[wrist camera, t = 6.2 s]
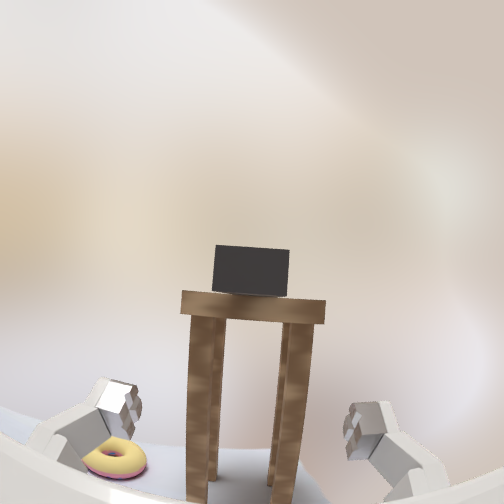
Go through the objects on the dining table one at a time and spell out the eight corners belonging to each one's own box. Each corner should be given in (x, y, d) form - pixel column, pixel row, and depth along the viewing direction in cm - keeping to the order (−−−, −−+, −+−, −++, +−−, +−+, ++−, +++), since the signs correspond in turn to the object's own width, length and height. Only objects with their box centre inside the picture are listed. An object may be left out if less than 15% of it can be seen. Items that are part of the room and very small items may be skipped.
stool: (178, 525, 22) (182, 290, 26) (200, 468, 36) (209, 293, 39) (292, 536, 21) (325, 300, 25) (284, 475, 35) (303, 300, 39)
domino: (210, 291, 17) (215, 242, 17) (240, 295, 40) (242, 275, 41) (287, 297, 16) (290, 247, 17) (272, 298, 40) (273, 277, 40)
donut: (115, 455, 38) (68, 462, 30) (113, 430, 39) (66, 434, 31) (160, 473, 34) (112, 487, 26) (159, 445, 35) (108, 455, 27)
